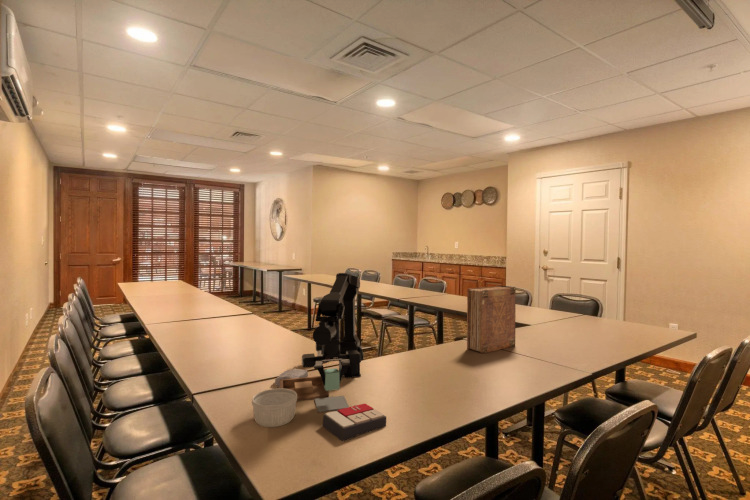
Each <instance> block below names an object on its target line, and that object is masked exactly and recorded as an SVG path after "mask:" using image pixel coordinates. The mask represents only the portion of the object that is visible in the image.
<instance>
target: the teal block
mask: <svg viewBox="0 0 750 500" xmlns="http://www.w3.org/2000/svg"><path fill="white" fill-rule="evenodd" d="M324 376H325V386H324V388H325V390H326V391H329V392H330V391H337V390H338V391H339V390H340V389H341V387H340V384H341V382H340V375H339V368H337V367H336V368H326V369H325V368H324Z"/></svg>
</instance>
